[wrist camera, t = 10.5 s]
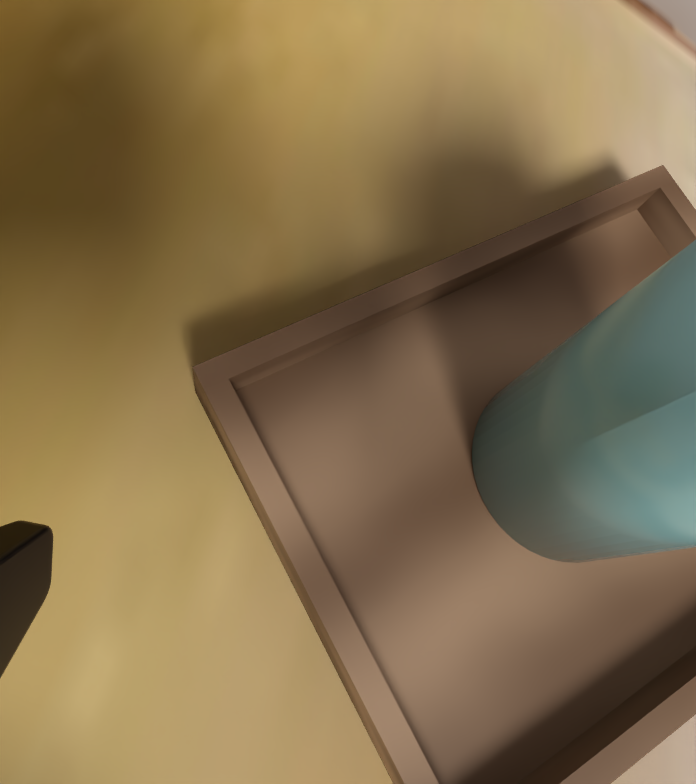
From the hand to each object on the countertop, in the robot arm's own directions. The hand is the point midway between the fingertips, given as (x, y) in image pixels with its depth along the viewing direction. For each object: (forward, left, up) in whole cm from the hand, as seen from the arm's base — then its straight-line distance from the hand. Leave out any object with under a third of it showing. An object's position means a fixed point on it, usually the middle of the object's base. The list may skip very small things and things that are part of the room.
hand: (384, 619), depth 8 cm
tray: (0, -10, -12) cm, 16 cm away
